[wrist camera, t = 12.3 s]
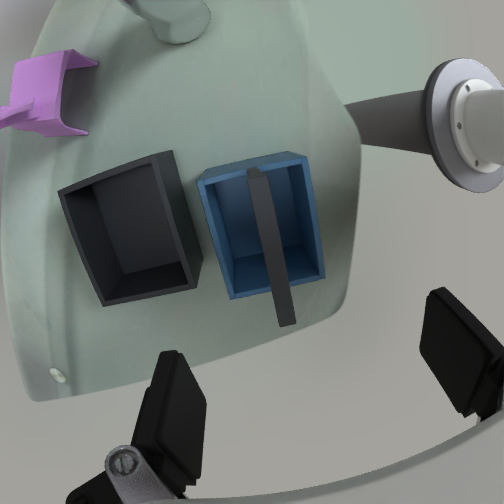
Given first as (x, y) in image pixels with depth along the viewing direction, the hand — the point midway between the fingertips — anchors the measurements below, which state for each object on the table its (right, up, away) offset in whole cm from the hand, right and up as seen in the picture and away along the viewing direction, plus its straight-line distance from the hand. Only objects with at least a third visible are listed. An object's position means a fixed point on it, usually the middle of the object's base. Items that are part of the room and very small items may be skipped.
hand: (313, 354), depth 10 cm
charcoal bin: (-14, +7, +20) cm, 25 cm away
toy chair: (-22, +21, +14) cm, 33 cm away
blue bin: (-2, +8, +20) cm, 22 cm away
